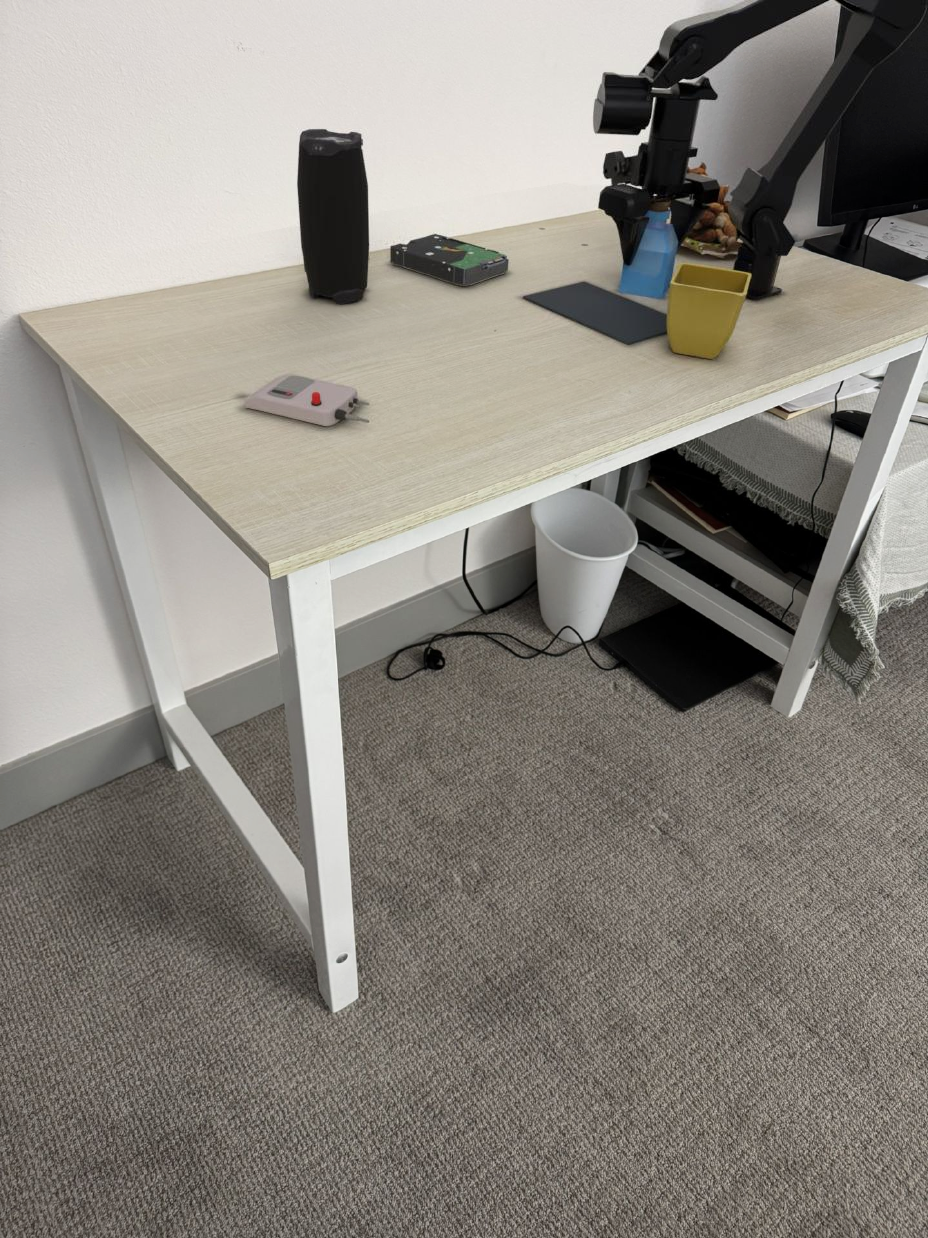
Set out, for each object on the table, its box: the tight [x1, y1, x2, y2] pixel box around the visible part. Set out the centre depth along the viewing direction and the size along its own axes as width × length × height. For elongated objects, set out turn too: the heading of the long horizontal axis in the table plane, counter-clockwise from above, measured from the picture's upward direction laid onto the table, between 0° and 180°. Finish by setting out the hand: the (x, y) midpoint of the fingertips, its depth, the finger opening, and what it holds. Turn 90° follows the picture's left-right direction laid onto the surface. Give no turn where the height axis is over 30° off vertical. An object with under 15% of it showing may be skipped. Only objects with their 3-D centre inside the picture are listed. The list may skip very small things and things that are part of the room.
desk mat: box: [522, 281, 667, 346], centre depth 119 cm, size 12×20×1 cm, turn 39°
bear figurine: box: [666, 161, 743, 260], centre depth 141 cm, size 14×15×12 cm
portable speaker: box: [296, 128, 370, 305], centre depth 114 cm, size 9×9×20 cm
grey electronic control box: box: [244, 373, 370, 427], centre depth 92 cm, size 7×16×3 cm, turn 67°
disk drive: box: [389, 233, 510, 287], centre depth 130 cm, size 10×3×15 cm
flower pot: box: [666, 262, 751, 360], centre depth 107 cm, size 9×9×9 cm
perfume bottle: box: [618, 199, 678, 300], centre depth 123 cm, size 6×6×12 cm
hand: (649, 259), depth 125 cm, fingers open, 9 cm apart
